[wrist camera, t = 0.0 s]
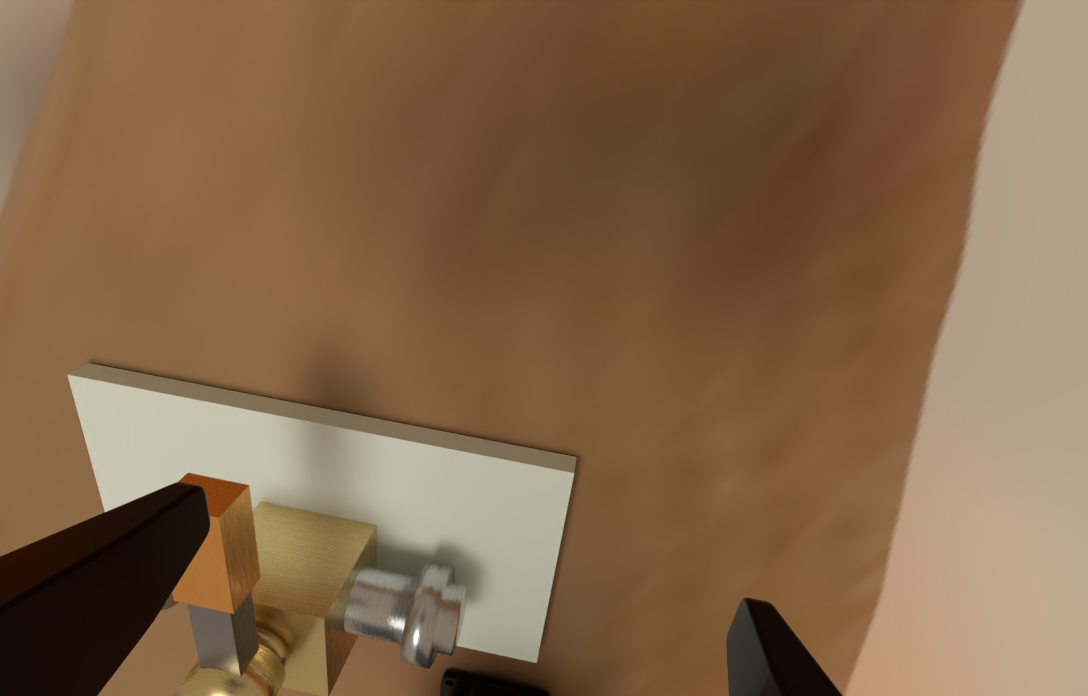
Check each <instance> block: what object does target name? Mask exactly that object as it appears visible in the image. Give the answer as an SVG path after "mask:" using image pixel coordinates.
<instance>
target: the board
mask: <svg viewBox="0 0 1088 696" xmlns="http://www.w3.org/2000/svg"><path fill="white" fill-rule="evenodd" d="M68 378H69V382H70V386H71V389H72V393H73V397H74V400H75V404H76V408H77V411H78V415H79V419H80V422H81V426H82V430H83V433H84V437H85V441H86V444H87V448H88V452H89V455H90V459H91V463H92V466H93V470H94V474H95V477H96V481H97V485H98V488H99V492H100V496H101V499H102V503H103V507H104V510H105V512H107V511H109V510H112V509H114V508H116V507H119V506H121V505H123V504H126V503H128V502H130V501H133V500H135V499H138V498H140V497H142V496H145V495H147V494H149V493H152V492H154V491H156V490H159V489H161V488H164V487H166V486H168V485H171V484H173V483H177V482H178V481H179V480H180V479H181V478H183V477H184V476H185V475H186V474H187V473H192V474H197V475H202V476H207V477H212V478H217V479H222V480H227V481H232V482H237V483H242V484H246V485H249V486H250V494H251V502H252V510H254V509H255V508H256V506H257V505H258V504H259V503H260V502H261V501H262V502H267V503H272V504H277V505H282V506H287V507H291V508H296V509H301V510H306V511H311V512H316V513H321V514H326V515H331V516H335V517H340V518H345V519H350V520H355V521H360V522H365V523H370V524H375V525H377V567H379V568H383V569H388V570H393V571H398V572H403V573H407V574H412V575H417V576H420V574H421V572H422V570H423V568H424V567H425V565H426V564H427V563H428V562H431V563H436V564H440V565H445V566H450V567H454V569H455V579H454V583H455V584H460V585H465V586H468V587H469V592H468V600H467V606H466V611H465V616H464V621H463V625H462V629H461V633H460V636H459V640H458V643H457V646H460V647H464V648H469V649H474V650H478V651H483V652H487V653H492V654H497V655H501V656H506V657H511V658H515V659H520V660H524V661H529V662H534V663H537V658H538V653H539V648H540V643H541V638H542V633H543V628H544V623H545V618H546V613H547V608H548V603H549V598H550V593H551V588H552V583H553V578H554V573H555V568H556V563H557V558H558V553H559V548H560V543H561V538H562V533H563V528H564V523H565V518H566V513H567V508H568V503H569V498H570V493H571V488H572V482H573V477H574V472H575V465H576V457H574V456H569V455H564V454H558V453H553V452H548V451H543V450H538V449H533V448H527V447H522V446H517V445H512V444H507V443H501V442H496V441H491V440H486V439H481V438H475V437H470V436H465V435H460V434H455V433H449V432H444V431H439V430H434V429H429V428H423V427H418V426H413V425H408V424H403V423H398V422H392V421H387V420H382V419H377V418H372V417H366V416H361V415H356V414H351V413H346V412H340V411H335V410H330V409H325V408H320V407H314V406H309V405H304V404H299V403H294V402H288V401H283V400H278V399H273V398H268V397H263V396H257V395H252V394H247V393H242V392H237V391H231V390H226V389H221V388H216V387H211V386H205V385H200V384H195V383H190V382H185V381H179V380H174V379H169V378H164V377H159V376H153V375H148V374H143V373H138V372H133V371H128V370H122V369H117V368H112V367H107V366H102V365H96V364H91V363H89V364H87V365H85V366H83V367H81V368H79V369H77V370H75V371H74V372H72V373H70V374H68Z"/></svg>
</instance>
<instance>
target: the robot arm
mask: <svg viewBox="0 0 1088 696" xmlns="http://www.w3.org/2000/svg"><path fill="white" fill-rule="evenodd" d="M209 530H210V515H209V509H208V503H207V497H206V492H205V490H204V489H203V488H202V487H201V486H198V485H193V484H189V483H184V482H177V483H173V484H171V485H168V486H166V487H164V488H161V489H159V490H156V491H154V492H152V493H149V494H147V495H145V496H142V497H140V498H138V499H135V500H133V501H130V502H128V503H126V504H123V505H121V506H119V507H116V508H114V509H112V510H109V511H107V512H104V513H102V514H100V515H97V516H95V517H93V518H90V519H88V520H86V521H83V522H81V523H78V524H76V525H74V526H71V527H69V528H67V529H64V530H62V531H60V532H57V533H55V534H52V535H50V536H48V537H45V538H43V539H41V540H38V541H36V542H34V543H31V544H29V545H26V546H24V547H22V548H19V549H17V550H15V551H12V552H10V553H8V554H5V555H3V556H0V696H97V695H98V694H99V693H100V691H101V690H102V689H103V687H104V686H105V685H106V683H107V682H108V681H109V680H110V678H111V677H112V676H113V674H114V673H115V672H116V670H117V669H118V668H119V666H120V665H121V664H122V663H123V661H124V660H125V659H126V657H127V656H128V655H129V653H130V652H131V651H132V649H133V648H134V647H135V645H136V644H137V643H138V642H139V640H140V639H141V638H142V636H143V635H144V634H145V632H146V631H147V629H148V628H149V627H150V625H151V624H152V623H153V621H154V620H155V618H156V617H157V615H158V614H159V612H160V611H161V609H162V608H163V606H164V605H165V603H166V601H167V600H168V598H169V597H170V595H171V593H172V592H173V590H174V589H175V587H176V585H177V584H178V582H179V581H180V579H181V577H182V576H183V574H184V573H185V571H186V569H187V568H188V566H189V565H190V563H191V561H192V560H193V558H194V557H195V555H196V553H197V552H198V550H199V549H200V547H201V546H202V544H203V542H204V541H205V539H206V537H207V535H208V533H209ZM727 664H728V682H729V696H842V694H841V693H840V692H839V690H838V689H837V688H836V687H835V685H834V684H833V683H832V681H831V680H830V679H829V677H828V676H827V675H826V674H825V672H824V671H823V670H822V668H821V667H820V666H819V664H818V663H817V662H816V661H815V659H814V658H813V657H812V655H811V654H810V653H809V651H808V650H807V649H806V648H805V646H804V645H803V644H802V642H801V641H800V640H799V638H798V637H797V636H796V635H795V633H794V632H793V631H792V629H791V628H790V627H789V625H788V624H787V623H786V622H785V620H784V619H783V618H782V616H781V615H780V614H779V612H778V611H777V610H776V609H775V607H774V606H773V605H772V604H770V603H769V602H766V601H762V600H757V599H752V598H744V599H743V600H742V601H741V603H740V605H739V607H738V609H737V612H736V614H735V617H734V619H733V621H732V624H731V626H730V629H729V631H728V635H727ZM440 696H550V695H549V694H548V693H547V692H544V691H540V690H535V689H531V688H526V687H522V686H517V685H512V684H508V683H503V682H499V681H494V680H490V679H485V678H481V677H476V676H471V675H467V674H462V673H458V672H453V671H447V672H445V673H444V675H443V678H442V681H441V692H440Z"/></svg>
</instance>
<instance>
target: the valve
mask: <svg viewBox="0 0 1088 696" xmlns="http://www.w3.org/2000/svg"><path fill="white" fill-rule="evenodd" d="M253 519H254V527H255V535H256V543H257V551H258V560H259V568H260V576H261V578H260V579H259V580H258V582H257V583H256V585H255V586H254V587H253V589H252V590H251V593H252V600H253V608H254V615H255V623H256V630H257V638H258V643H259V644H261V645H263V646H265V647H266V648H268V649H269V650H270V651H272V652H273V653H274V654H275V655H276V656H277V657H278V658H279V659H280V661H281V662H282V664H283V666H284V668H285V672H286V678H285V681H284V683H283V685H282V687H284V688H288V689H293V690H297V691H302V692H306V693H311V694H315V695H320V696H329V695H330V693H331V691H332V689H333V687H334V685H335V683H336V681H337V679H338V677H339V675H340V672H341V670H342V668H343V666H344V664H345V662H346V660H347V658H348V656H349V654H350V652H351V650H352V648H353V646H354V644H355V642H356V640H357V637H358V635H360V636H364V637H369V638H373V639H378V640H383V641H387V642H392V643H396V644H401V652H400V657H401V662H402V663H405V664H410V665H414V666H419V667H423V668H428V669H429V668H430V667H431V666H432V664H433V662H434V659H435V657H436V654H437V652H438V653H442V654H447V655H453V654H454V651H455V649H456V646H457V643H458V640H459V636H460V633H461V629H462V625H463V621H464V616H465V611H466V606H467V600H468V592H469V587H468V586H465V585H460V584H455V583H454V579H455V569H454V567H450V566H445V565H440V564H436V563H431V562H428V563H427V564H426V565H425V567H424V568H423V570H422V572H421V574H420V576H417V575H412V574H407V573H403V572H398V571H393V570H388V569H383V568H379V567H377V525H375V524H370V523H365V522H360V521H355V520H350V519H345V518H340V517H335V516H331V515H326V514H321V513H316V512H311V511H306V510H301V509H296V508H291V507H287V506H282V505H277V504H272V503H267V502H262V501H261V502H260V503H259V504H258V505H257V506H256V508H255V509H254V510H253ZM177 603H178V602H177V601H174V599H173V594H172V593H171V595H170V597H169V598H168V600H167V601H166V603H165V605H164V606H163V608H162V609H161V610H164V609H168V608H170V607H172V606H174V605H176V604H177Z"/></svg>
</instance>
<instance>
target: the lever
mask: <svg viewBox="0 0 1088 696" xmlns="http://www.w3.org/2000/svg"><path fill="white" fill-rule="evenodd" d="M178 482H184V483H189V484H193V485H198V486H201V487H202V488H203V489H204V490H205V492H206V497H207V503H208V509H209V515H210V530H209V533H208V535H207V537H206V539H205V541H204V542H203V544H202V546H201V547H200V549H199V550H198V552H197V553H196V555H195V557H194V558H193V560H192V561H191V563H190V565H189V566H188V568H187V569H186V571H185V573H184V574H183V576H182V577H181V579H180V581H179V582H178V584H177V585H176V587H175V589H174V590H173V592H172V594H173V599H174V601H177V602H182V603H186V604H187V605H188V609H189V614H190V619H191V624H192V629H193V633H194V638H195V643H196V648H197V653H198V657H199V660H198V661H197V663H196V664H195V665H194V667H193V668H192V669H191V671H190V672H189V673H188V675H187V676H186V677H185V679H184V680H183V681H182V683H181V684H180V685H179V687H178V688H177V690H176V691H175V693H174V695H173V696H276V695H277V694H278V692H279V690H280V688H281V687H282V685H283V683H284V681H285V678H286V672H285V668H284V666H283V664H282V662H281V661H280V659H279V658H278V657H277V656H276V655H275V654H274V653H273V652H272V651H270V650H269V649H268V648H266V647H265V646H263V645H261V644H259V643H258V638H257V630H256V623H255V615H254V608H253V600H252V593H251V590H252V589H253V587H254V586H255V585H256V583H257V582H258V580H259V579H260V578H261V576H260V568H259V560H258V551H257V543H256V535H255V527H254V519H253V510H252V502H251V494H250V486H249V485H246V484H242V483H237V482H232V481H227V480H222V479H217V478H212V477H207V476H202V475H197V474H192V473H187V474H186V475H185V476H184V477H183V478H181V479H180V480H179V481H178Z"/></svg>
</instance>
